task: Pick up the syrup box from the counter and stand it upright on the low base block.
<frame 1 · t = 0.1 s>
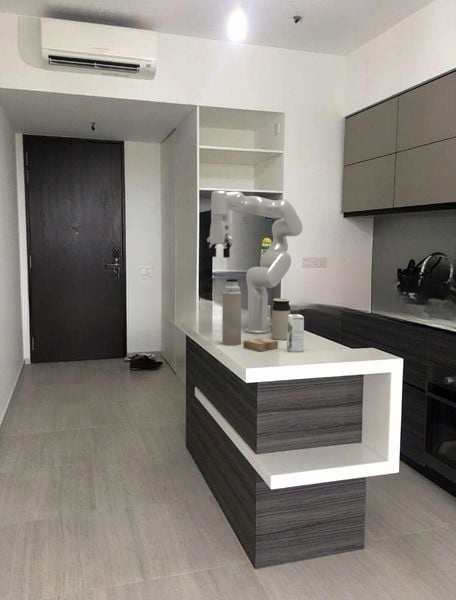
hand: (219, 257, 241), 37 cm above the table, tool pointing down, fingers open, 9 cm apart
travel mug: (280, 339, 243), on the table
syrup box: (295, 351, 217), on the table
thermos bottle: (231, 344, 231), on the table
base block: (260, 348, 221), on the table
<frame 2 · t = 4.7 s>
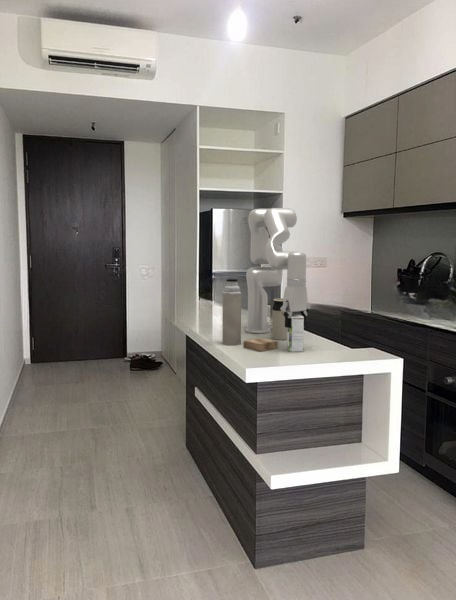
hand: (295, 326, 216), 10 cm above the table, tool pointing down, fingers closed on syrup box, 7 cm apart
syrup box: (295, 350, 217), on the table, touching gripper
everything else where it was.
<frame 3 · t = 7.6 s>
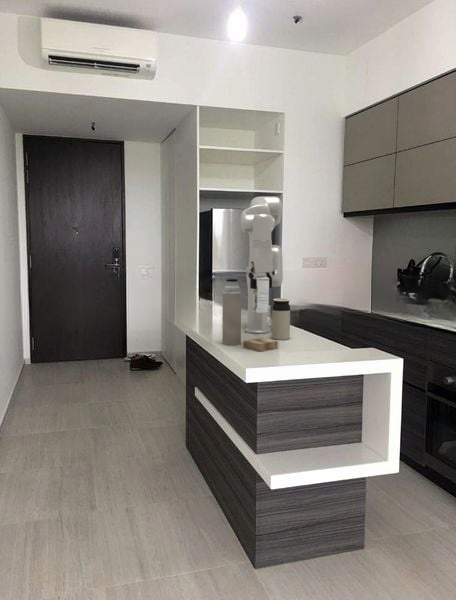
hand: (261, 287, 218), 25 cm above the table, tool pointing down, fingers closed on syrup box, 7 cm apart
syrup box: (260, 312, 220), point 15 cm above the table, touching gripper
everything else where it was.
when the fingers open (14 cm above the table, at t = 10.6 s): syrup box stays where it is, resting on base block.
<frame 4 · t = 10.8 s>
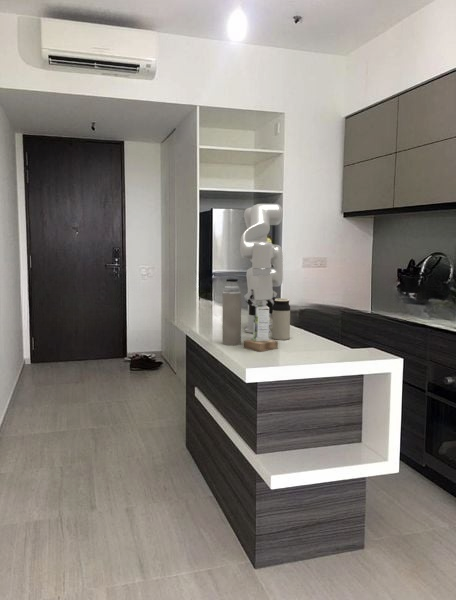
hand: (260, 314, 220), 14 cm above the table, tool pointing down, fingers open, 9 cm apart
syrup box: (260, 341, 221), point 3 cm above the table, touching base block
everything else where it was.
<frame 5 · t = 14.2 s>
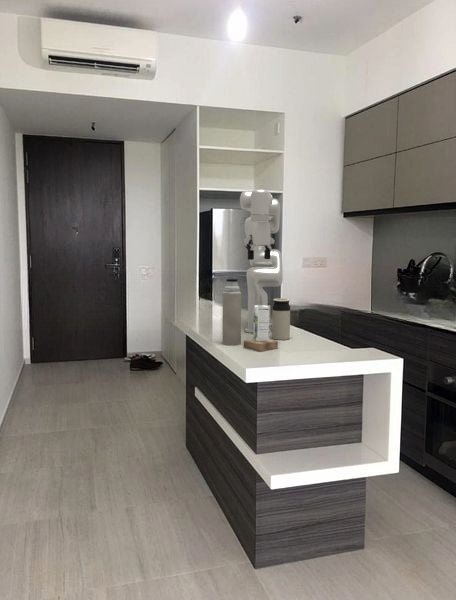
hand: (259, 259, 230), 36 cm above the table, tool pointing down, fingers open, 9 cm apart
nothing on the table moved.
at the end: syrup box inside the target area on the base block (0.4 cm from its centre), point 2.9 cm above the base block's base; syrup box tilted 0°; the gripper is holding nothing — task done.
